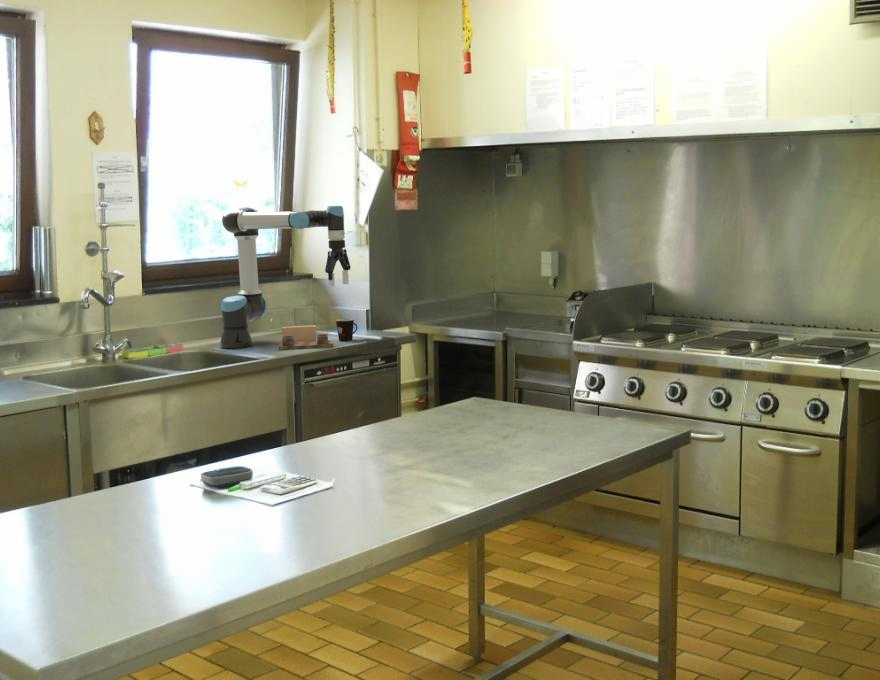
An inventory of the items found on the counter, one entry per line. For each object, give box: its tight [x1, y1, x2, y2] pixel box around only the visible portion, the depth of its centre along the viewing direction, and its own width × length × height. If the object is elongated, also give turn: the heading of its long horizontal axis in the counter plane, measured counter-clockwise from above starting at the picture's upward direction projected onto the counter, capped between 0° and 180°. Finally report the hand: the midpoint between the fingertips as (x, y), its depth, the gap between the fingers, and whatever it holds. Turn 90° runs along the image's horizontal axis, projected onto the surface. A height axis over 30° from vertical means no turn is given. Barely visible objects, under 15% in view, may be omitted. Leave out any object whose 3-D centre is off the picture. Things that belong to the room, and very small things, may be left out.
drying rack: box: [278, 333, 333, 351], centre depth 478 cm, size 24×12×5 cm, turn 97°
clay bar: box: [281, 324, 317, 342], centre depth 491 cm, size 16×3×8 cm, turn 97°
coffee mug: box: [335, 318, 358, 342], centre depth 492 cm, size 12×9×10 cm
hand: (338, 285), depth 475 cm, fingers open, 13 cm apart
